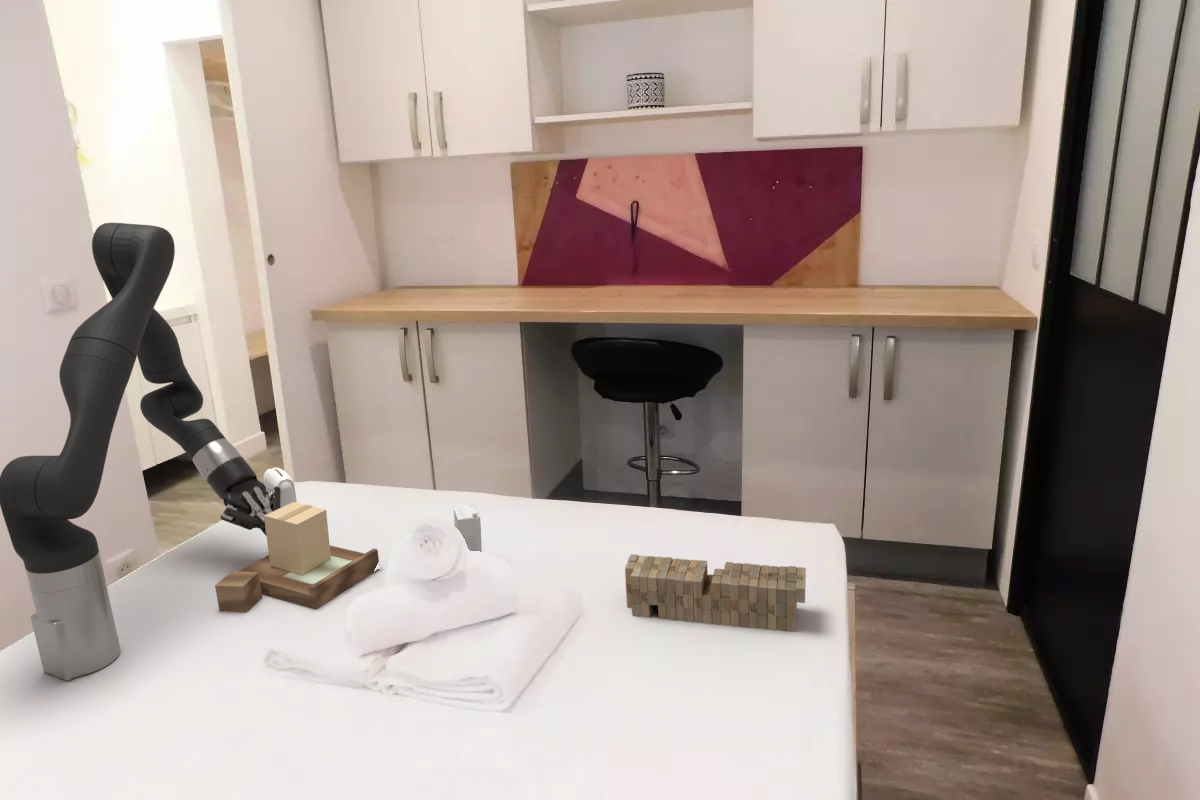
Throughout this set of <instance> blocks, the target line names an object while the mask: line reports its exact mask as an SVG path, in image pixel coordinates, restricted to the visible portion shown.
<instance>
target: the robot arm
mask: <svg viewBox="0 0 1200 800" xmlns="http://www.w3.org/2000/svg"><path fill="white" fill-rule="evenodd" d="M175 249H176V247H175V241H174V238H173V236H172V234H171V232H170V231H169V230H167V229H166V228H164V227H161V226H157V225H150V224H140V223H139V224H138V223H137V224H135V223H125V222H106V223H105V222H104V223H103V224H102V223H101V224H100V225H99V226H98V227H97V228H96V230H95V232H94V233H93V236H92V240H91V250H92V251H91V252H92V255H93V260H94V262H95V263H94V264H95V265H96V268H97V271H98V272H99V274H100V277H101V279H102V281H103V282H104V285H105V287H106V289H107V291H108V293H109V295H110V297H111V300H110V301H109V302H107V303H106V304H104V305H103V306H102V307H101V308H99V309H98V310H97V311H95V312H94V313H93V314H91V315H90V316H89V317H88V318H87V319H85V320H84V321H83V322H82V323H81V324H80V325H79V326H78V327H77V328H76V329H75V330H74V332H73V334H72V335H71V338H70V339H69V342H68V345H67V348H66V350H65V353H64V356H63V357H62V360H61V364H60V366H59V367H60V368H59V372H58V373H59V375H58V376H59V383H60V386H61V391H62V393H63V396H64V399H65V402H66V404H67V408H68V410H69V416H70V417H69V419H70V424H69V429H68V432H67V436H66V440H65V442H64V446H63V447H62V449H61V452H60V453H59V455H25V456H19V457H16V458H14V459H13V460H11V461H9V462H7V464H6V465H5V466H4V468H3V469H2V471H1V473H0V509H1V513H2V516H3V519H4V523H5V526H6V529H7V531H8V535H9V537H10V542H11V544H12V547H13V549H14V552H15V553H16V554H17V556H18V557H20V559H21V560H22V561H23V564H24V568H25V571H26V576H27V580H28V584H29V589H30V592H31V597H32V600H33V605H34V608H35V613H33V614H32V615H31V616H30V620H31V624H32V629H33V633H34V636H35V638H34V639H35V641H36V645H37V649H38V654H39V657H40V661H41V666H42V669H43V670H42V671H43V672H44V673H47V674H49V675H50V676H51V675H52V676H54V677H56V678H59V679H61V680H64V681H65V682H66V681H67V682H68V681H71V680H72V679H74V678H77V677H80V676H85V675H88V674H91V673H94V672H96V671H99V670H101V669H103V668H104V667H107V666H108V665H110V664H111V663H113V662H115V660H116V659H117V658H118V657H119V655H120V653H121V646H120V641H119V636H118V633H117V628H116V622H115V619H114V614H113V609H112V604H111V601H110V600H111V599H110V595H109V591H108V586H107V581H106V576H105V572H104V568H103V564H102V563H103V562H102V558H101V554H100V553H101V552H100V549H99V544H98V540H97V538H96V535H95V534H94V533H93V532H92V531H90V530H89V529H87V528H84V527H82V526H79V525H77V524H76V523H74V522H72V521H70V520H74V519H78V518H80V517H82V516H84V515H85V514H86V513H88V512H89V510H90V509H91V507H92V506H93V505H94V503H95V500H96V498H97V496H98V493H99V489H100V486H101V483H102V479H103V478H102V477H103V474H104V470H105V464H106V460H107V456H108V449H109V445H110V441H111V437H112V436H111V435H112V432H113V429H114V426H115V422H116V419H117V415H118V412H119V409H120V406H121V403H122V399H123V397H124V394H125V390H126V388H127V385H128V383H129V381H130V377H131V375H132V372H133V369H134V366H135V363H136V360H138V364H139V367H140V370H141V373H142V376H143V378H144V379H145V380H146V381H147V382H149V383H151V384H157V385H163V384H167V385H164V386H162V387H159V388H157V389H154V390H153V391H150V392H148V393H146V394H144V395H143V396H142V398H141V399H140V404H139V405H140V406H139V407H140V411H141V414H142V415H143V417H144V418H145V420H146V421H147V422H148V423H150V425H152V426H153V427H154V428H155V429H156V430H159V432H162V433H163V434H165V435H166V436H167V437H169V438H170V439H171V440H173V441H174V442H175V443H176V444H178V445H179V446H180V448H181V449H182V450H183V451H184V452H185V453H186V455H187V456H188V457H189V458H190V460H191V461H192V462H193V464H194V466H195V468H196V469H197V471H198V472H199V474H200V475H201V476H202V477H203V479H204V480H205V481H206V483H208V486H209V487H211V489H212V490H213V491H214V493H215V494H216V495H217V496H218V498H219V499H221V500H222V501H223V505H224V506H225V509H224V511H223V512H222V514H220V519H221V520H222V521H224V522H226V523H230V524H232V525H235V526H238V527H240V528H244V529H246V530H248V531H249V530H250V531H252V530H253V529H259V530H261V532H262V533H263V534H264V535H265V537H266V538H267V536H266V528H265V519H264V516H265V515H267V514H269V513H271V512H273V511H275V510H277V509H279V508H280V504H281V489H280V488H279V487H275V488H274V489H272V488H267V487H266V486H265V485H264V482H262V481H260V480H259V479H258V478H257V474H256V471H254V470H253V468H252V467H251V466H250V465H249V463H248V462H247V460H246V459H244V457H243V455H241V454H240V452H239V451H238V450H237V448H236V447H235V446H234V445H233V444H232V443H231V442H229V441H228V439H227V438H226V437H225V435H223V433H222V432H221V430H220V429H219V428H218V427H217V425H216V424H215V423H214V422H213V421H212V420H210V419H209V418H198V419H197V418H196V419H193V420H184V419H185V418H188V417H190V416H194V415H195V414H196V413H198V412H199V411H200V410H201V409H202V408H203V404H204V395H203V393H202V392H201V390H200V388H199V387H198V385H197V384H196V383H195V381H194V380H193V379H192V377H191V375H190V374H189V372H188V369H187V368H186V365H185V363H184V359H183V356H182V352H181V351H182V350H181V348H180V344H179V340H178V337H177V335H176V332H174V330H173V328H172V327H171V325H170V324H169V322H168V321H167V320H166V319H165V318H164V317H163V316H162V315H161V314H160V312H159V311H158V310H156V308H155V306H156V303H157V301H158V300H159V297H160V295H161V294H162V292H163V289H164V287H165V285H166V283H167V280H168V279H169V277H170V276H169V275H170V273H171V270H172V269H173V265H174V261H175V253H176V250H175ZM266 496H267V500H269V503H268V501H267V500H266Z"/></svg>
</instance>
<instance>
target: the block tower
mask: <svg viewBox="0 0 1200 800" xmlns="http://www.w3.org/2000/svg"><path fill="white" fill-rule="evenodd" d="M723 567H724V568H714V570H713V574H712V573H711V574H708V561H707V560H702V559H701V560H698V559H684V558H673V557H671V556H670V557H669V556H665V557H663V556H652V555H649V556H646V555H639V554H632V553H631V554H630V556H629V557H628V560H627V563H626V565H625V566H624V576H625V593H626V594H625V595H626V608H629V609H631V615H632V617H637V618H638V617H639V618H649V619H650V618H651V615H652V612H653V609H654V606H657V613H658V619H660V620H669V621H681V622H688V623H697V624H704V625H716V626H727V627H728V626H729V627H736V628H744V629H745V628H746V629H755V630H756V629H759V630H768V631H780V632H781V631H782V632H791V633H796V622H797V608H798V607H797V605H798V604H799V603H801V604H805V603H806V581H807V580H806V577H807V576H806V575H807V568H806V567H800V566H799V567H797V566H794V565H788V566H784V565H783V566H782V565H780V566H776V565H765V564H762V565H760V564H757V563H756V564H752V563H740V562H735V563H734V562H733V561H726V562H725V564H724V566H723Z"/></svg>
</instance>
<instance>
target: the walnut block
mask: <svg viewBox="0 0 1200 800" xmlns="http://www.w3.org/2000/svg"><path fill="white" fill-rule="evenodd" d="M214 587H215V593H216V598H217V604H218V610H219V612H223V613H224V612H225V613H226V612H227V613H229V612H232V613H248V612H249V611H250V610H251V609H252V608H253V607H254V606H255V605H256V604H257V603H258V602H259V601H260V600H262V598H263V594H262V592H261V586H260V580H259V574H258V572H237V571H230V572H229V573H228V574H227V575H226V576H225V577H223V578H222V579H220V581H219V582H218V583H216V584H215V585H214Z"/></svg>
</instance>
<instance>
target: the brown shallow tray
mask: <svg viewBox="0 0 1200 800" xmlns="http://www.w3.org/2000/svg"><path fill="white" fill-rule="evenodd" d="M330 555H331V559H330V560H328V561H326V562H324V563H323V564H321V565H319V566H318V567H316V568H314V569H312V570H311V571H309V572H307V573H306V574H304V575H300V574H297V573H293V572H290V571H286V570H283V569H280V568H276V567H273V566H270V561H269V554H268V555H266V556H264V557H263V558H260V559H258V560H257V561H255V562H253V563H250V564H249V565H248V566H247V565H246V566H244V567H243V568H241V569H239V570H237V571H236V572H258V574H259V580H260V586H261V592H262V596H263V595H264V596H267V597H270V598H275V599H278V600H281V601H286V602H288V603H293V604H296V605H299V606H303V607H307V608H309V609H313V610H317V609H319V608H320V607H322V606H324V605H325V604H326V603H328V602H330V601H332V600H334V599H335V598H336V597H338V596H339V595H340V594H342V593H344V592H346V591H347V590H348V589H350V588H352V587H353V586H355V585H356V584H358V583H360V582H361V581H363V580H364V579H366V578H367V577H370V576H371V575H372V574H374V573H375V572H374V570H375V568H376V566H377V564H378V562H379V563H380V558H379V550H378V549H377V548H372V549H370V550H369V551H366V552H365V553H364V552H360V551H356V550H352V549H347V548H342V547H339V546H334V545H330ZM373 572H374V573H373Z"/></svg>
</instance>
